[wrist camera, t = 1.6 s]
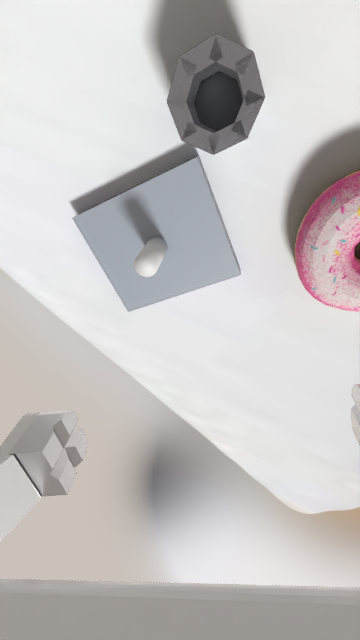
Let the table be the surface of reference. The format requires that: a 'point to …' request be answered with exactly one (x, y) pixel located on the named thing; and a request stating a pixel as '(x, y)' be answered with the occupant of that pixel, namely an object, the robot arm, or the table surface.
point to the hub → (202, 65)
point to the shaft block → (161, 237)
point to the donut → (332, 245)
